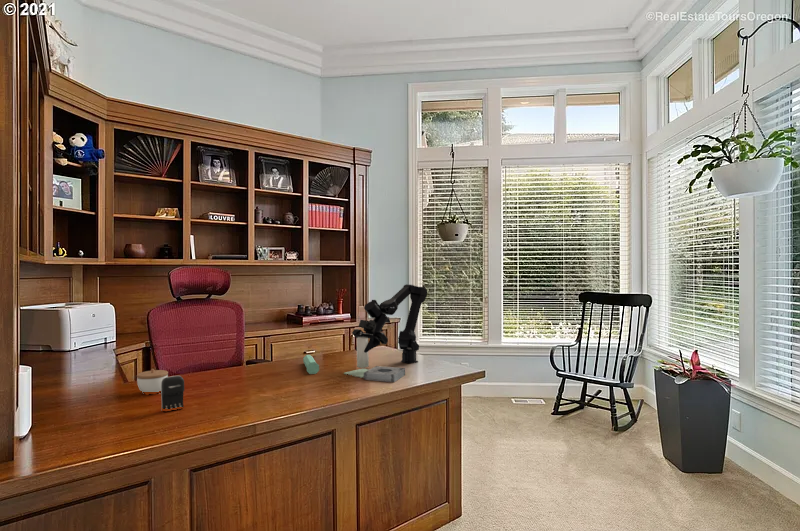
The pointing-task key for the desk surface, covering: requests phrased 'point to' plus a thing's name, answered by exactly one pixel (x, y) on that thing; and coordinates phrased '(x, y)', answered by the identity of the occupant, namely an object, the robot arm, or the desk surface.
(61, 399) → the desk surface
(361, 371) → the felt pad
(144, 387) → the lidded jar
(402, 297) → the robot arm
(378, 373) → the flange
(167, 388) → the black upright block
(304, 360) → the green faceted rod
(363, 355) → the end plug
